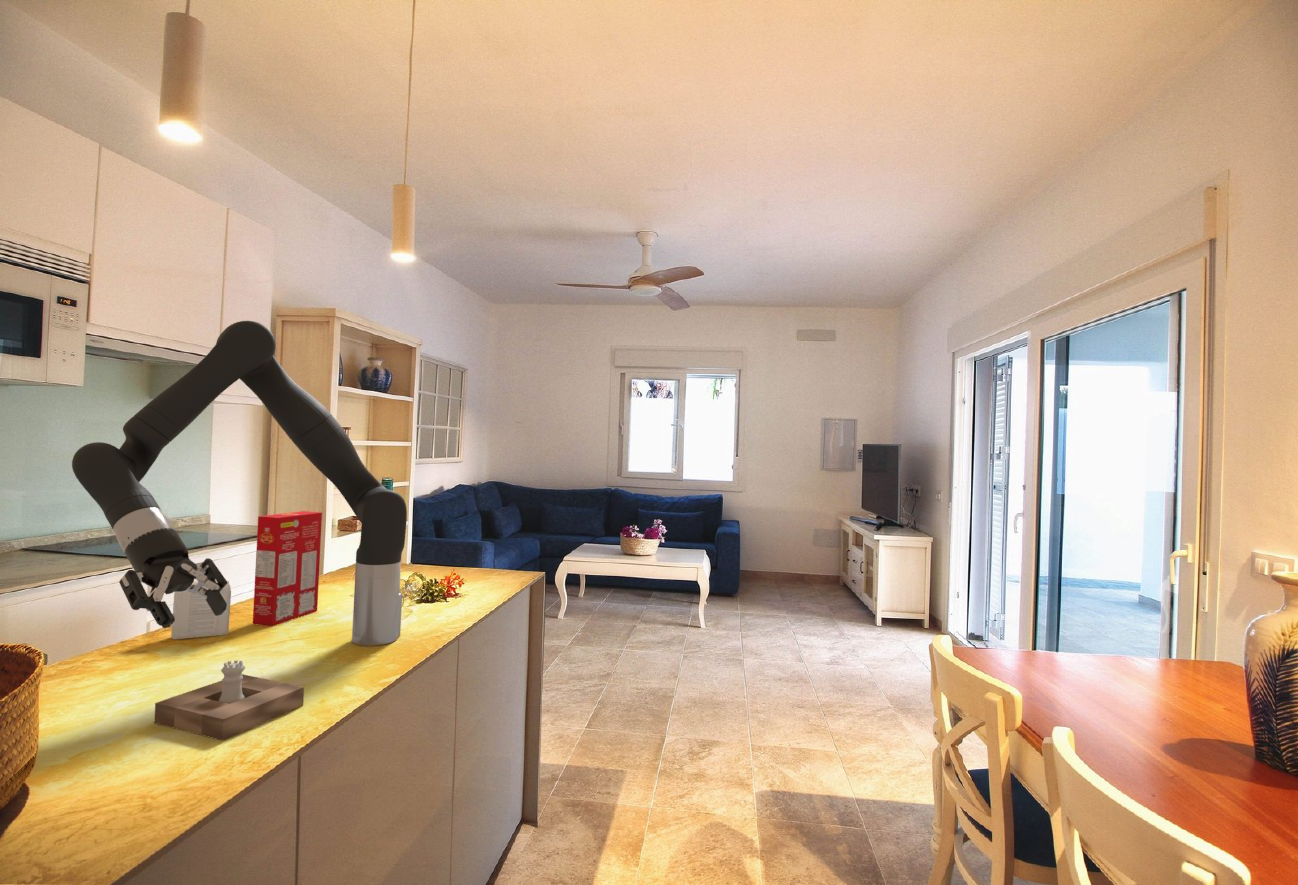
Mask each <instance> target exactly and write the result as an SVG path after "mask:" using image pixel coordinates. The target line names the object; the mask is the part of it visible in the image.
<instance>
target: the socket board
mask: <svg viewBox="0 0 1298 885" xmlns="http://www.w3.org/2000/svg"><path fill="white" fill-rule="evenodd" d="M242 676H243V679H242V683H241V685H242V693H243V695H244V699H241V700H239V701H236V702H233V703H231V704H227V703H223V702H219V699H220V697H221V694H222V689H223V681H222V680H219V681H217V682H213V683H211V684H207V685H204V686H202V687H201V686H200V687H198V688H195V689H192V690H189V691H187V692H183V693H180V694H178V695H175V696H173V697H169V698H166V699H163V700H161V701H157V702H155V704H154V717H153V718H154V724H157V725H161V726H165V727H169V728H172V727H173V728H172V729H176V728H177V729H176V730H180V731H185V732H188V731H189V733H191V732H193V734H197V735H201V736H203V735H205V736H204V737H207V736H209V737H208V738H211V737H212V738H213V739H215V738H216V740H219V741H225V740H227V739H229V738H231V737H234V736H235V735H239V734H240V733H243V732H245V731H247V730H250V729H252V728H254V727H257V726H259V725H261V724H264V723H266V722H268V721H270V720H273V719H276V718H277V717H280V716H282V715H285V714H287V713H289V712H292V711H294V710H296V709H298V708H300V707H301V708H302V707H303V706H304V701H305V700H304V699H305V686H301V685H297V684H296V685H295V684H291V683H287V682H282V681H276V680H271V679H268V678H263V677H262V678H261V677H257V676H256V677H255V676H252V675H247V674H243V673H242ZM233 735H234V736H233Z"/></svg>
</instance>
